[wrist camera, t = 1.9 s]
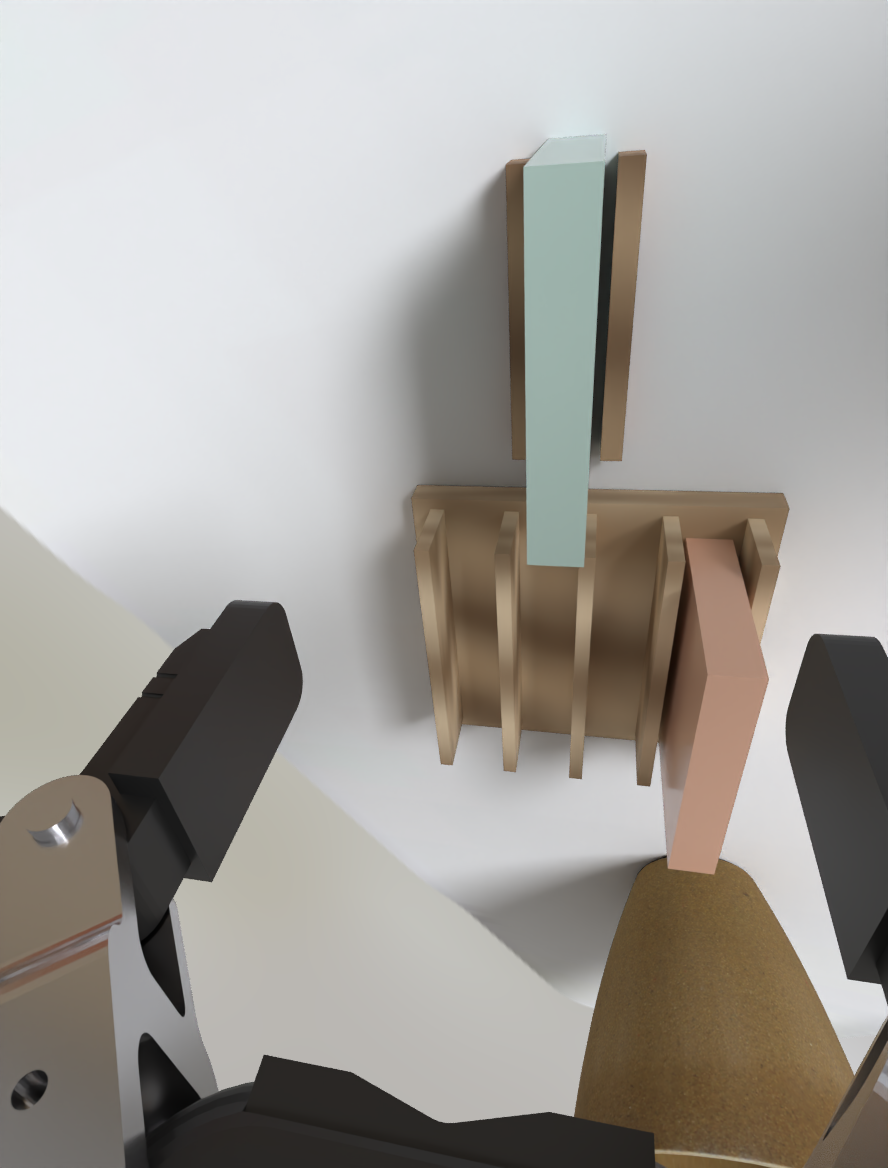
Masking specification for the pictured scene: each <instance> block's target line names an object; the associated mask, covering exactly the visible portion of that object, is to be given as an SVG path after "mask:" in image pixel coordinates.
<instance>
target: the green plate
mask: <svg viewBox="0 0 888 1168" xmlns="http://www.w3.org/2000/svg"><path fill="white" fill-rule="evenodd" d="M606 135H607V134H601V135H588V136H576V137H563V138H551V139H548V140H547V141H546V142H545V143H544V144H543V145H542V147H541V148H540V149H539V150H538V151H537V152H536V153H535V154H534V156H533V157H532V158H531V159H530V160H529V161H528V162H527V163H526V165H525V166H524V167H523V176H524V286H525V395H526V505H527V565H542V566H564V567H584V558H585V540H586V521H587V502H588V484H589V465H590V446H591V426H592V407H593V388H594V368H595V349H596V329H597V310H598V290H599V271H600V251H601V232H602V213H603V193H604V174H605V154H606Z"/></svg>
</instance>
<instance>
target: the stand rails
mask: <svg viewBox="0 0 888 1168" xmlns="http://www.w3.org/2000/svg"><path fill="white" fill-rule="evenodd" d="M646 157H647V154H646V152H645V150H639V151H626V152H619V153H618V170H617V186H616V202H615V219H614V235H613V252H612V268H611V284H610V301H609V317H608V334H607V350H606V366H605V383H604V399H603V416H602V432H601V453H600V461H622V451H623V438H624V426H625V414H626V402H627V390H628V377H629V365H630V353H631V341H632V328H633V316H634V304H635V292H636V280H637V267H638V255H639V243H640V231H641V219H642V206H643V194H644V182H645V170H646ZM529 160H530V159H518V160H510V161H509V162H508V163H507V164H506V198H507V243H508V288H509V333H510V378H511V423H512V460H526V395H525V286H524V176H523V167H524V166H525V165H526V163H527V162H528V161H529Z"/></svg>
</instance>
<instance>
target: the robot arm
mask: <svg viewBox="0 0 888 1168" xmlns="http://www.w3.org/2000/svg"><path fill="white" fill-rule="evenodd" d="M302 685H303V678H302V670H301V666H300V663H299V659H298V655H297V652H296V648H295V645H294V641H293V638H292V634H291V631H290V627H289V623H288V620H287V616H286V613H285V610H284V608H283V607H282V605H281V604H279V603H277V602H260V601H242V600H234V601H232V602H231V603H229V604H228V605H227V607H226V608H225V609H224V611H223V612H222V613H221V615H220V616H219V618H218V619H217V620H216V622H215V623H214V625H213V626H212V627H211V629H201V630H199V631H198V632H197V633H195V634H194V635H193V636H191V637H190V638H189V639H187V640H186V641H185V642H183V643H182V644H181V645H179V646H178V647H176V648H175V649H174V650H173V652H172V653H171V654H170V656H169V657H168V658H167V660H166V661H165V662H164V664H163V665H162V666H161V668H160V669H159V670H158V672H157V677H156V678H155V677H153V678H152V680H151V681H150V682H149V684H148V685H147V686H146V688H145V689H144V690H143V692H142V697H141V698H140V697H139V698H137V700H136V701H135V702H134V704H133V705H132V706H131V708H130V709H129V710H128V711H127V713H126V714H125V715H124V717H123V718H122V719H121V721H120V722H119V724H118V725H117V726H116V728H115V729H114V730H113V731H112V733H111V734H110V736H109V737H108V738H107V739H106V741H105V742H104V743H103V745H102V746H101V748H100V749H99V750H98V751H97V753H96V754H95V755H94V757H93V758H92V759H91V761H90V762H89V763H88V765H87V766H86V767H85V769H84V770H83V771H82V772H81V773H80V775H74V776H67V777H63V778H59V779H56V780H53V781H51V782H49V783H46V784H44V785H42V786H40V787H39V788H37V789H35V790H33V791H32V792H31V793H29V794H28V795H26V796H25V797H24V798H23V799H21V800H20V801H19V802H18V803H16V804H15V806H14V807H13V808H12V809H11V810H10V811H9V812H8V813H7V815H6V816H2V817H0V1168H666V1167H665V1166H663V1165H661V1164H659V1163H657V1162H656V1161H655V1145H654V1133H651V1132H646V1131H641V1130H636V1129H631V1128H626V1127H621V1126H616V1125H611V1124H606V1123H601V1122H596V1121H591V1120H586V1119H581V1118H577V1117H572V1116H566V1115H562V1114H557V1113H552V1112H546V1113H537V1114H529V1115H520V1116H511V1117H502V1118H494V1119H485V1120H476V1121H468V1122H459V1123H443V1122H438V1121H436V1120H434V1119H432V1118H430V1117H428V1116H427V1115H425V1114H423V1113H421V1112H420V1111H418V1110H416V1109H415V1108H413V1107H411V1106H409V1105H408V1104H406V1103H404V1102H402V1101H401V1100H399V1099H397V1098H395V1097H394V1096H392V1095H390V1094H388V1093H387V1092H385V1091H383V1090H381V1089H380V1088H378V1087H376V1086H374V1085H372V1084H371V1083H369V1082H367V1081H366V1080H364V1079H362V1078H360V1077H359V1076H357V1075H355V1074H354V1073H351V1072H348V1071H343V1070H337V1069H333V1068H327V1067H322V1066H318V1065H312V1064H307V1063H302V1062H298V1061H293V1060H287V1059H282V1058H277V1057H273V1056H268V1055H264V1056H263V1059H262V1062H261V1065H260V1067H259V1070H258V1073H257V1076H256V1079H255V1082H250V1083H245V1084H241V1085H238V1086H235V1087H231V1088H227V1089H224V1090H221V1091H218V1087H217V1083H216V1079H215V1075H214V1072H213V1069H212V1065H211V1063H210V1059H209V1057H208V1054H207V1052H206V1049H205V1047H204V1044H203V1042H202V1039H201V1035H200V1032H199V1028H198V1024H197V1019H196V1014H195V1008H194V1002H193V996H192V990H191V985H190V979H189V973H188V967H187V962H186V956H185V950H184V944H183V938H182V933H181V927H180V921H179V915H178V910H177V906H176V902H175V901H174V899H173V897H174V895H175V893H176V891H177V889H178V887H179V886H180V884H181V882H182V880H183V878H188V879H195V880H201V881H208V882H212V881H213V879H214V877H215V875H216V873H217V871H218V869H219V867H220V864H221V863H222V861H223V858H224V856H225V854H226V852H227V850H228V848H229V846H230V844H231V842H232V840H233V838H234V836H235V834H236V832H237V830H238V828H239V826H240V824H241V822H242V820H243V817H244V815H245V814H246V811H247V810H248V808H249V805H250V803H251V801H252V799H253V797H254V795H255V793H256V791H257V789H258V787H259V785H260V783H261V781H262V779H263V777H264V775H265V773H266V771H267V769H268V767H269V765H270V763H271V760H272V759H273V757H274V755H275V752H276V750H277V748H278V746H279V744H280V742H281V740H282V738H283V736H284V734H285V732H286V730H287V728H288V726H289V724H290V722H291V720H292V718H293V716H294V714H295V712H296V710H297V707H298V705H299V702H300V698H301V694H302ZM786 745H787V751H788V755H789V759H790V763H791V766H792V770H793V774H794V778H795V782H796V785H797V789H798V793H799V797H800V801H801V804H802V808H803V812H804V816H805V820H806V823H807V827H808V831H809V835H810V839H811V842H812V846H813V850H814V854H815V858H816V861H817V865H818V869H819V873H820V877H821V880H822V884H823V888H824V892H825V896H826V899H827V903H828V907H829V911H830V915H831V918H832V922H833V926H834V930H835V933H836V937H837V941H838V945H839V949H840V952H841V956H842V960H843V964H844V968H845V971H846V975H847V979H849V980H856V981H863V982H869V983H876V984H882V988H883V991H884V994H885V998H886V1001H887V1004H888V657H887V655H886V653H885V651H884V649H883V647H882V645H881V643H880V642H879V640H878V639H876V638H875V637H865V636H847V635H829V634H814V635H813V636H812V637H811V638H810V640H809V642H808V644H807V647H806V651H805V654H804V657H803V660H802V664H801V667H800V670H799V674H798V677H797V680H796V683H795V687H794V690H793V693H792V697H791V700H790V703H789V707H788V711H787V716H786ZM803 1168H888V1016H887V1018H886V1019H885V1021H884V1022H883V1024H882V1026H881V1028H880V1030H879V1032H878V1033H877V1035H876V1037H875V1039H874V1041H873V1043H872V1044H871V1046H870V1048H869V1050H868V1052H867V1054H866V1056H865V1057H864V1059H863V1061H862V1063H861V1064H860V1066H859V1068H858V1070H857V1072H856V1074H855V1075H854V1077H853V1079H852V1081H851V1083H850V1085H849V1086H848V1088H847V1090H846V1092H845V1094H844V1096H843V1097H842V1099H841V1101H840V1103H839V1105H838V1107H837V1108H836V1110H835V1112H834V1114H833V1116H832V1117H831V1119H830V1121H829V1123H828V1125H827V1127H826V1128H825V1130H824V1132H823V1134H822V1136H821V1138H820V1139H819V1141H818V1143H817V1145H816V1147H815V1148H814V1150H813V1152H812V1153H811V1155H810V1157H809V1159H808V1160H807V1162H806V1164H805V1165H804V1167H803Z"/></svg>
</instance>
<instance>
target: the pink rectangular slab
mask: <svg viewBox="0 0 888 1168" xmlns="http://www.w3.org/2000/svg"><path fill="white" fill-rule="evenodd" d="M684 555H685V561H686V562H685V569H684V575H683V581H682V588H681V594H680V600H679V607H678V613H677V619H676V626H675V632H674V638H673V645H672V651H671V657H670V664H669V670H668V676H667V683H666V689H665V695H664V702H663V708H662V714H661V721H660V727H659V733H658V737H659V751H660V765H661V779H662V793H663V807H664V821H665V835H666V849H667V863H668V869H675V870H683V871H690V872H698V873H706V874H714V873H715V870H716V866H717V863H718V859H719V856H720V852H721V849H722V845H723V841H724V838H725V834H726V831H727V827H728V824H729V820H730V816H731V813H732V809H733V806H734V802H735V799H736V795H737V791H738V788H739V784H740V781H741V777H742V774H743V770H744V766H745V763H746V759H747V756H748V752H749V749H750V745H751V742H752V738H753V734H754V731H755V727H756V724H757V720H758V717H759V713H760V709H761V706H762V702H763V699H764V695H765V692H766V688H767V684H768V681H769V677H768V674H767V670H766V666H765V662H764V658H763V654H762V650H761V646H760V643H759V639H758V635H757V631H756V627H755V623H754V619H753V616H752V612H751V608H750V604H749V600H748V596H747V592H746V588H745V585H744V581H743V577H742V573H741V569H740V565H739V561H738V557H737V554H736V550H735V546H734V542H733V540H729V539H701V538H686V541H685V547H684Z"/></svg>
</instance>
